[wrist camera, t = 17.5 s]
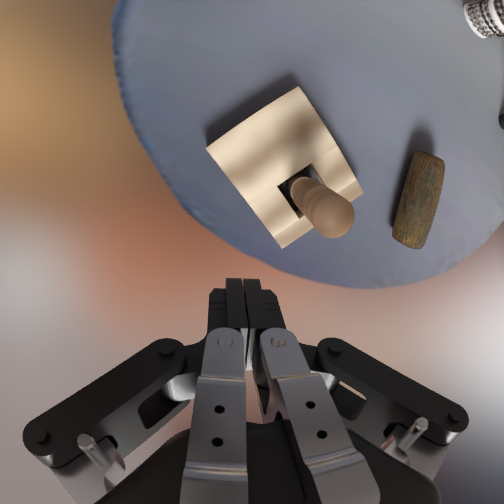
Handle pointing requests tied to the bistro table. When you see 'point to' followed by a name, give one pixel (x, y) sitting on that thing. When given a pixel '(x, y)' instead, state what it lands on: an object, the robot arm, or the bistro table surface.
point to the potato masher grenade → (501, 121)
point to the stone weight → (419, 200)
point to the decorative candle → (485, 17)
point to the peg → (321, 206)
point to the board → (282, 161)
